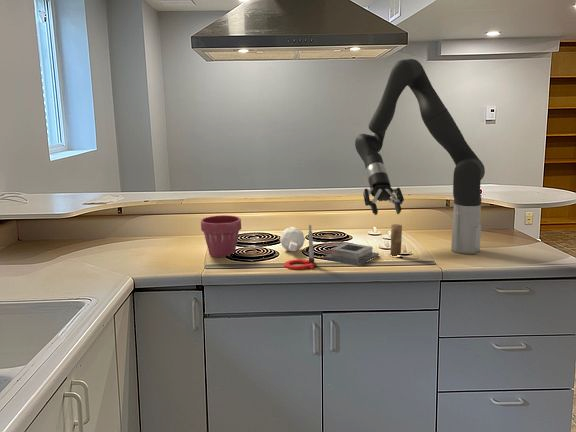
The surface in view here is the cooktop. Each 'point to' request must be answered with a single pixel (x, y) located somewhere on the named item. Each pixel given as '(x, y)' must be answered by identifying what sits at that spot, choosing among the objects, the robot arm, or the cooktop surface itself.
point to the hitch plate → (328, 257)
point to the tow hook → (308, 263)
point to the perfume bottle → (292, 239)
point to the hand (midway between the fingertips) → (387, 213)
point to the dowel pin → (396, 239)
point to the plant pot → (221, 234)
